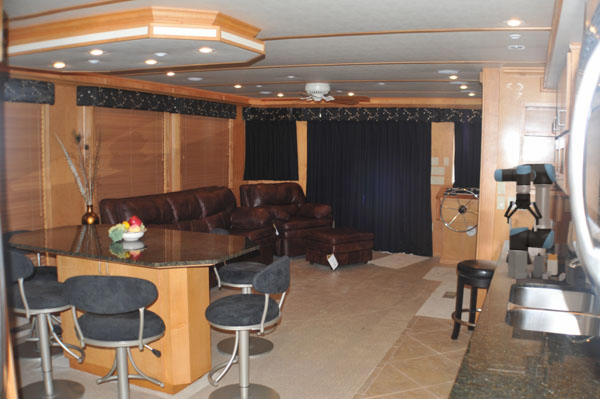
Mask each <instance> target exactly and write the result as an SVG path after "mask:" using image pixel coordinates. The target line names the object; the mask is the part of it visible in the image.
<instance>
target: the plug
mask: <svg viewBox="0 0 600 399" xmlns="http://www.w3.org/2000/svg"><path fill="white" fill-rule="evenodd" d="M558 261H559V259H558V254H557V253H555V251H551V253H549V254H547V265H546V266H547V267H546V268H547V270H546V271H550V272H551V276H556V275H558V269H559V268H558V263H559V262H558Z"/></svg>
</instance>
